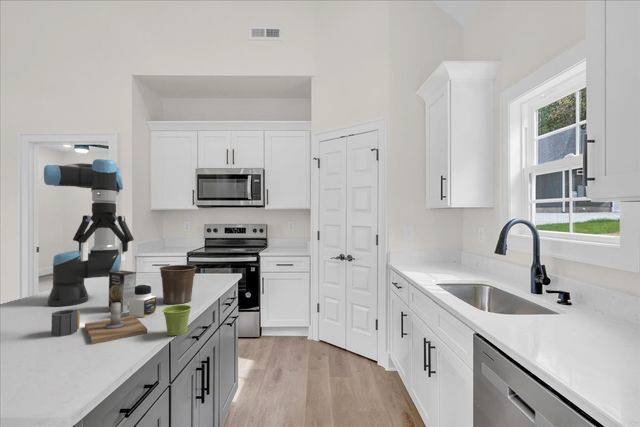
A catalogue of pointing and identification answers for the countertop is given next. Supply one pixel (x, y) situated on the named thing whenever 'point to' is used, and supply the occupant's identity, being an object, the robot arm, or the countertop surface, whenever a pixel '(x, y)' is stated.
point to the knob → (65, 322)
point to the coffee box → (121, 288)
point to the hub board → (114, 327)
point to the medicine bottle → (142, 302)
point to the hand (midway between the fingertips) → (103, 260)
